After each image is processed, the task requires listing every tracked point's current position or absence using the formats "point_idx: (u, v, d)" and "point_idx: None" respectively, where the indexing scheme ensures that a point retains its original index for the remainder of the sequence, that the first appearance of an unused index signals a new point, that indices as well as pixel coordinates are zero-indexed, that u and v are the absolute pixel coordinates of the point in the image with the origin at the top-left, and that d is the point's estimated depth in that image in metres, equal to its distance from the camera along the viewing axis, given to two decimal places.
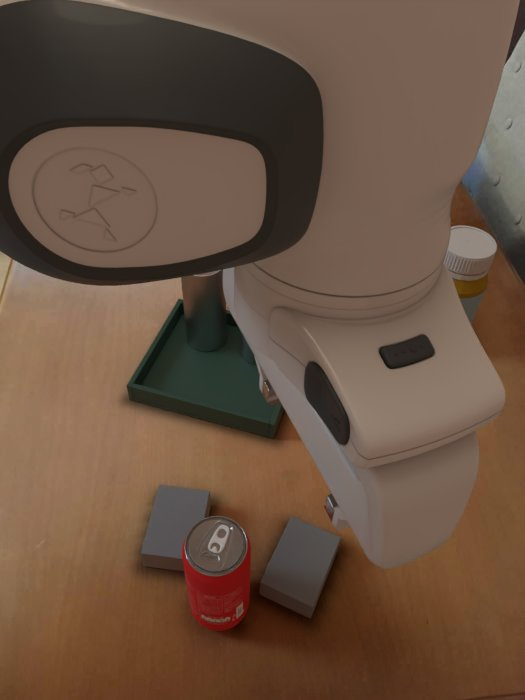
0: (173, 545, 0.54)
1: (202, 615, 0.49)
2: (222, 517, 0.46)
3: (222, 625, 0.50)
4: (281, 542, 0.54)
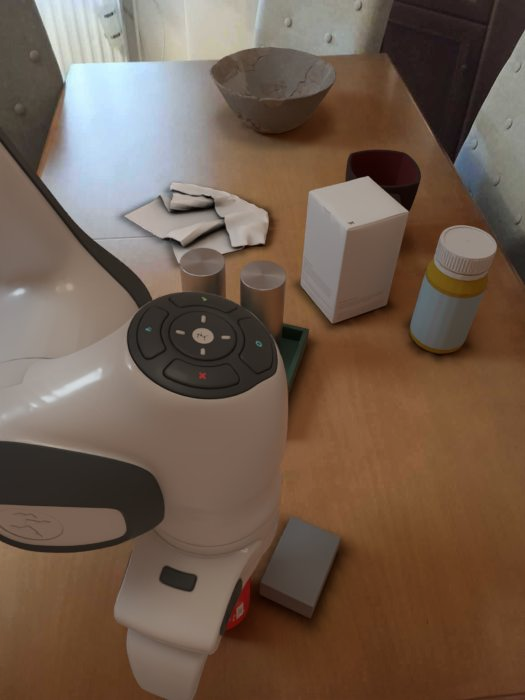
0: None
1: None
2: None
3: None
4: (281, 542, 0.54)
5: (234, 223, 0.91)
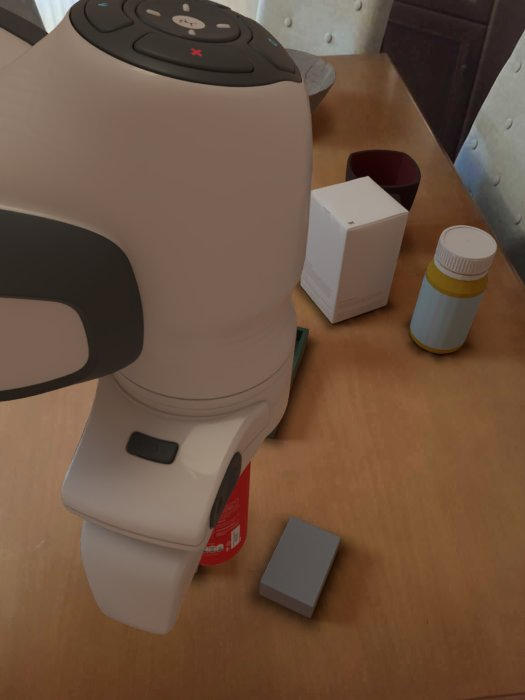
0: None
1: None
2: None
3: (213, 557, 0.40)
4: (281, 542, 0.54)
5: None
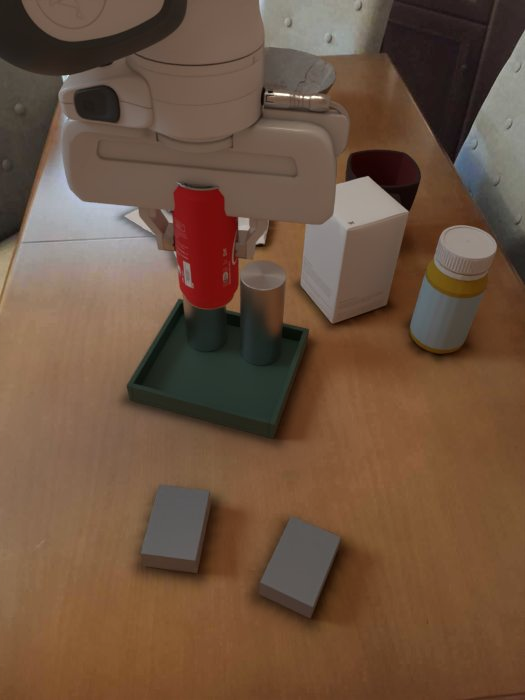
0: (173, 545, 0.54)
1: None
2: None
3: (179, 278, 0.51)
4: (281, 542, 0.54)
5: None
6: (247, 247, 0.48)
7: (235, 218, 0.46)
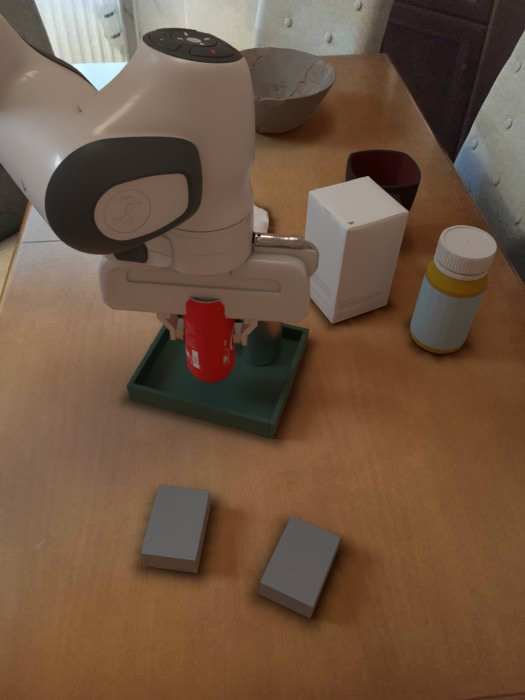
0: (173, 545, 0.54)
1: None
2: None
3: (187, 360, 0.64)
4: (281, 542, 0.54)
5: None
6: (242, 337, 0.61)
7: None
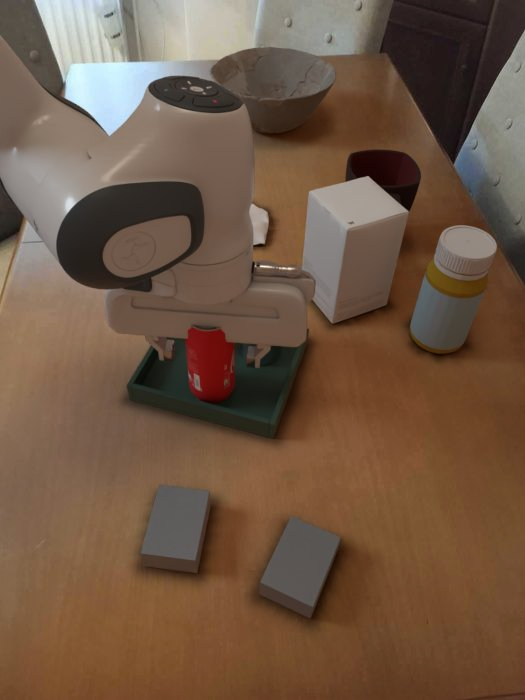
0: (173, 545, 0.54)
1: None
2: None
3: (189, 382, 0.67)
4: (281, 542, 0.54)
5: None
6: (255, 360, 0.64)
7: (233, 343, 0.62)
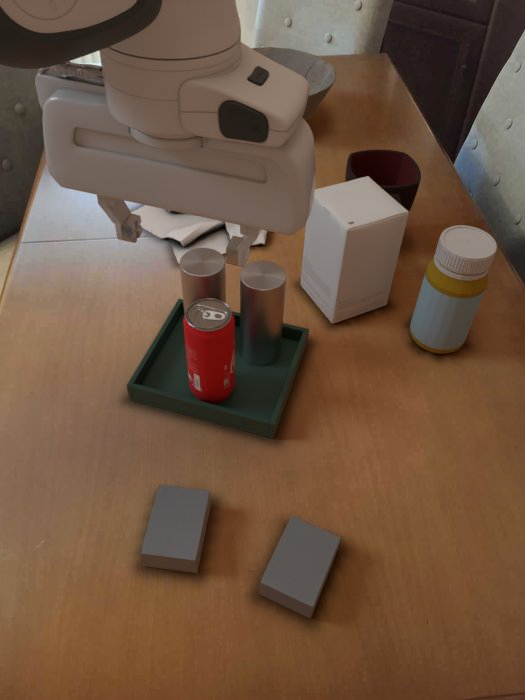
0: (173, 545, 0.54)
1: None
2: (230, 313, 0.60)
3: (189, 382, 0.67)
4: (281, 542, 0.54)
5: None
6: None
7: (233, 343, 0.62)
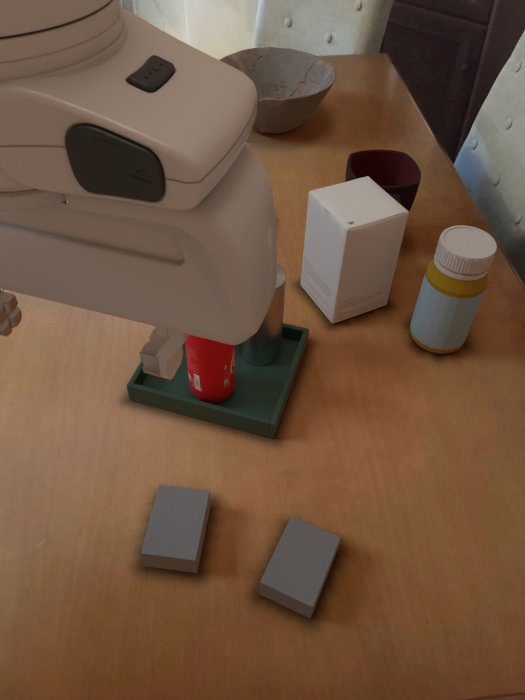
0: (173, 545, 0.54)
1: None
2: None
3: (189, 382, 0.67)
4: (281, 542, 0.54)
5: None
6: None
7: None
